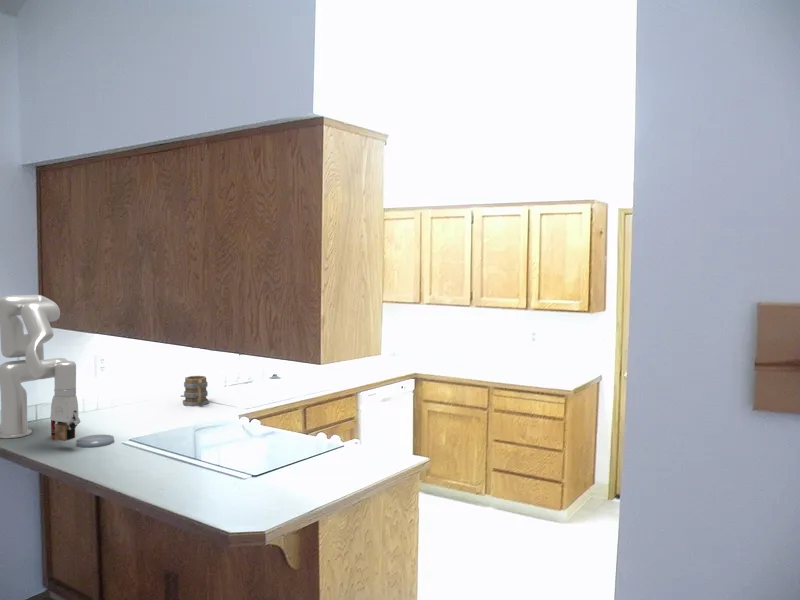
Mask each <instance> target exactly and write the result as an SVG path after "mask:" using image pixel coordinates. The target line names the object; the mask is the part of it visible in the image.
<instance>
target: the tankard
mask: <svg viewBox="0 0 800 600" xmlns="http://www.w3.org/2000/svg"><path fill="white" fill-rule="evenodd" d="M184 378H185V381H184V382H183V386H184V391H183V395H184V398H185V399H183V400H182V404H183V406H185V407H203V406H206V405H209V404H210V401H209V399H208V392H209V391H208V390H207V388H208V381H207V377H206V376H204V375H190V376H185V377H184Z"/></svg>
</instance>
